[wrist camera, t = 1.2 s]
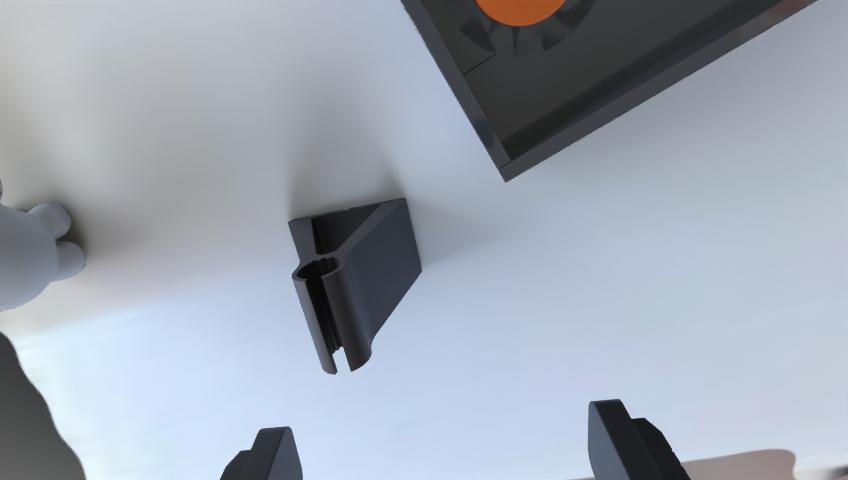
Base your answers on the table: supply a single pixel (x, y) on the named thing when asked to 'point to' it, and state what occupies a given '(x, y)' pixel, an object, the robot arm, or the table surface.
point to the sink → (564, 53)
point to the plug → (519, 10)
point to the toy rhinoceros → (34, 252)
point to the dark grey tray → (707, 47)
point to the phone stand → (353, 275)
